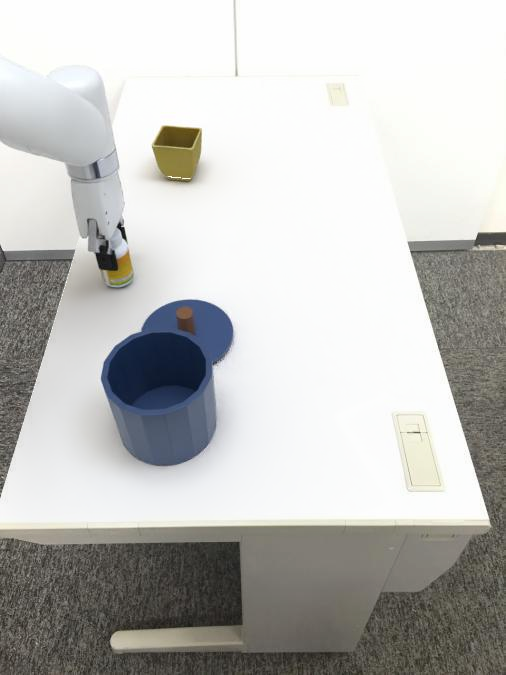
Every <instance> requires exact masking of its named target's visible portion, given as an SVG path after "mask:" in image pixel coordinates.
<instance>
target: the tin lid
mask: <svg viewBox="0 0 506 675" xmlns="http://www.w3.org/2000/svg"><path fill="white" fill-rule="evenodd" d="M150 328H174V329H178V330H181V331H185V332H188V333H191V334H192V335H193V336H195V337H196V338H197V339H199V340H200V341H201V342H203V343H204V344H205V346H206V348H207V350H208V352H209V354H210V356H211V357H212V362H213V364H215V363H216V362H217V361H219V360H220V359H221V358H222V357H224V356H225V354H226V353H227V352H228V351H229V349H230V347H231V346H232V343H233V339H234V326H233V323H232V320H231V318H230V317H229V315H228V314H227V312H225V311H224V310H223V309H222V308H220V307H219V306H217V305H216V304H214V303H212V302H209V301H205V300H201V299H192V298H191V299H179V300H175V301H172V302H168V303H166V304H164V305H162V306H160V307H159V308H157V309H155V310H154V311H153V312H152V313H150V314H149V315H148V317H147V318H146V319H145V321H144V322H143V324H142V327H141V329H140V332H141V331H144V330H147V329H150Z"/></svg>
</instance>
